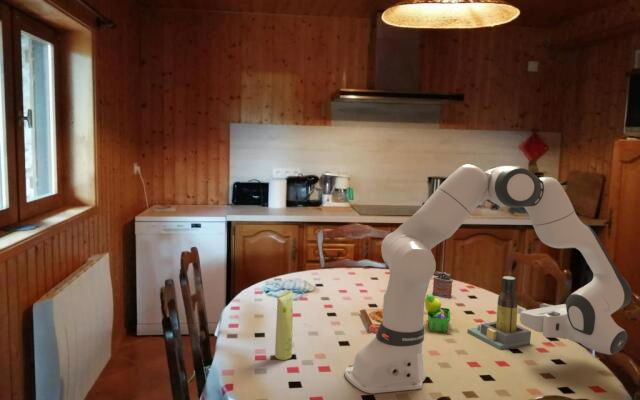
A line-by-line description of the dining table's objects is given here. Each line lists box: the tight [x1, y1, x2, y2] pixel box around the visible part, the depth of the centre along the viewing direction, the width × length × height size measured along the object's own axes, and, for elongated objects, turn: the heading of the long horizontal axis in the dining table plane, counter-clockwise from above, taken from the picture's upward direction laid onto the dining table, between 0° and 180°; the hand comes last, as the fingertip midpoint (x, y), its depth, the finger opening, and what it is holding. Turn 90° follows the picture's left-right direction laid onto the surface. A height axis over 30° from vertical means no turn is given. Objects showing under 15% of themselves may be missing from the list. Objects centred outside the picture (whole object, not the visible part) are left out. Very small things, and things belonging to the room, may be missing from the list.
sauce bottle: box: [496, 275, 519, 333], centre depth 175 cm, size 6×6×20 cm
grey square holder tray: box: [467, 320, 531, 350], centre depth 177 cm, size 13×15×3 cm
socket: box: [480, 320, 532, 345], centre depth 176 cm, size 12×11×3 cm
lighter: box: [431, 271, 454, 299], centre depth 220 cm, size 8×3×10 cm, turn 58°
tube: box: [274, 289, 293, 361], centre depth 155 cm, size 6×5×20 cm
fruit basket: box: [424, 294, 452, 333], centre depth 185 cm, size 11×9×11 cm
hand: (530, 307), depth 166 cm, fingers open, 8 cm apart
